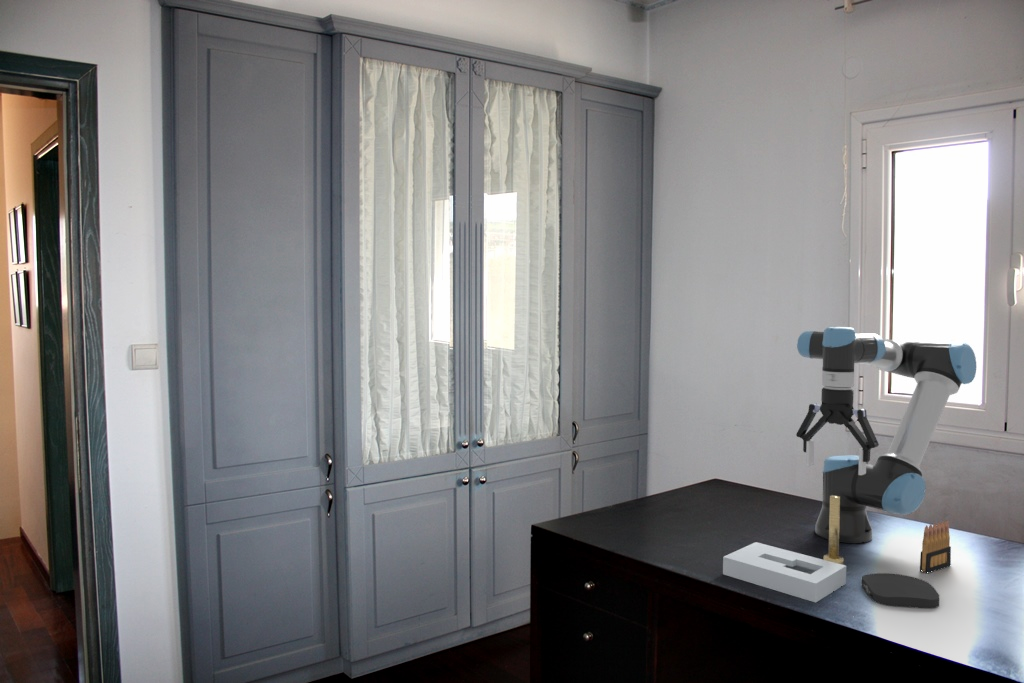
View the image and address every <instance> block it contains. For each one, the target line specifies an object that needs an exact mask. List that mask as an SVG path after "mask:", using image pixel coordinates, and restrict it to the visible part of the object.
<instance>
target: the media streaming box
mask: <svg viewBox="0 0 1024 683" xmlns="http://www.w3.org/2000/svg"><path fill="white" fill-rule="evenodd" d="M861 587H862V588H863V591H865V593H866V595H867V596H868V598H870V599H871V600H872V601H874V602H875V603H877V604H880V605H883V606H884V605H885V606H888V607H902V608H915V607H918V608H917V609H936V608H938V607H939V606H940V594H939V593H938V590H936V588H935V587H934V586H933V585H932V584H931V583H929V582H928V581H926V580H923V579H921V578H918V577H914V576H911V575H906V574H900V573H887V572H877V573H868V574H864V575H863V576H861Z"/></svg>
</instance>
